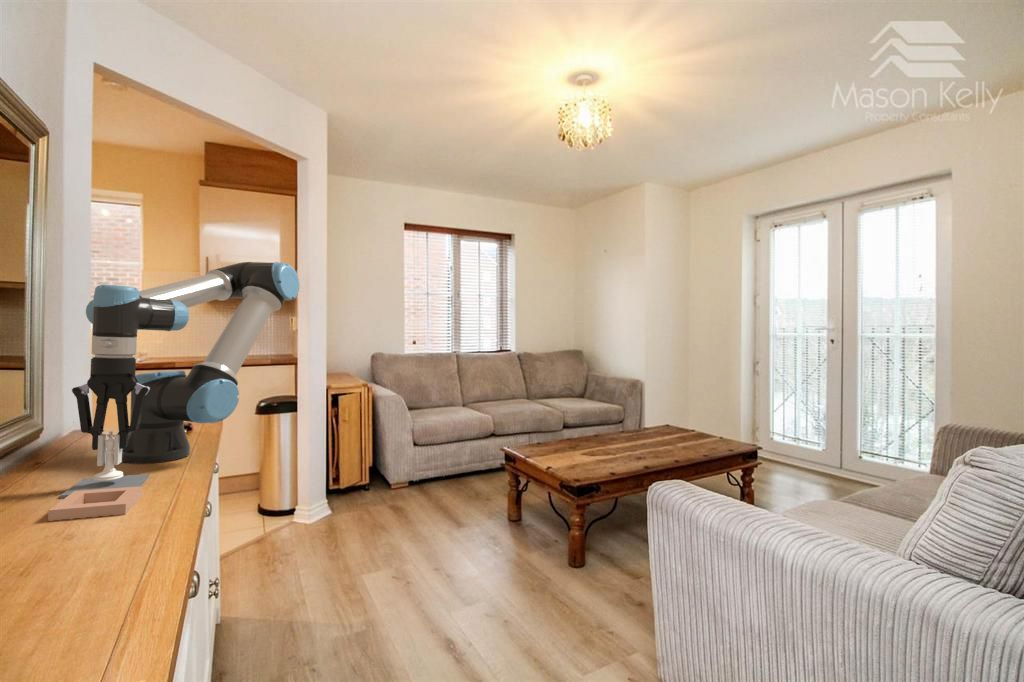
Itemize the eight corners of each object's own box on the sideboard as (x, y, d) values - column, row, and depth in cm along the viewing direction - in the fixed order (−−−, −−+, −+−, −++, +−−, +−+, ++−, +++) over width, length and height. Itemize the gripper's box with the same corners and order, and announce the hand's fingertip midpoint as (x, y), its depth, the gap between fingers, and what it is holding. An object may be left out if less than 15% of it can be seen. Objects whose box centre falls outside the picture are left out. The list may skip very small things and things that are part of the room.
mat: (83, 481, 106) (83, 478, 106) (149, 476, 111) (149, 474, 111) (59, 498, 95) (60, 495, 95) (134, 492, 100) (134, 490, 100)
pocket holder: (74, 501, 94) (74, 491, 94) (142, 495, 99) (142, 486, 99) (48, 521, 84) (48, 510, 84) (125, 514, 89) (125, 503, 89)
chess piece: (106, 481, 100) (108, 434, 100) (87, 479, 101) (89, 432, 101) (129, 475, 105) (131, 430, 105) (111, 473, 106) (113, 428, 106)
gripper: (61, 356, 96) (56, 471, 97) (152, 358, 103) (147, 465, 103) (76, 354, 103) (71, 461, 103) (160, 356, 110) (156, 457, 110)
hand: (109, 463), depth 103 cm, fingers closed on chess piece, 2 cm apart
